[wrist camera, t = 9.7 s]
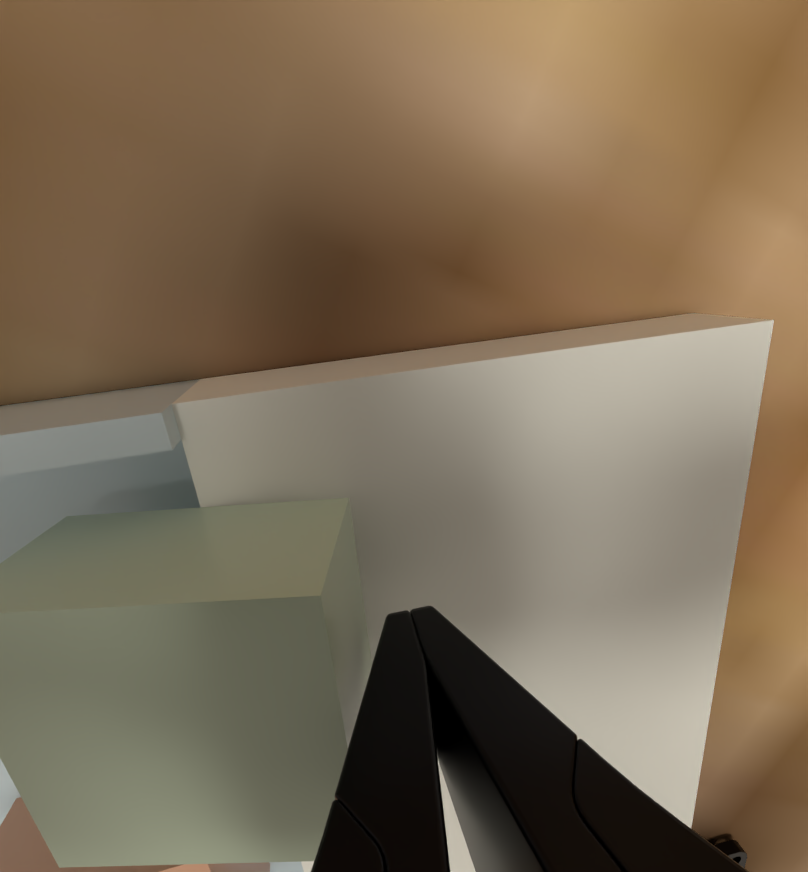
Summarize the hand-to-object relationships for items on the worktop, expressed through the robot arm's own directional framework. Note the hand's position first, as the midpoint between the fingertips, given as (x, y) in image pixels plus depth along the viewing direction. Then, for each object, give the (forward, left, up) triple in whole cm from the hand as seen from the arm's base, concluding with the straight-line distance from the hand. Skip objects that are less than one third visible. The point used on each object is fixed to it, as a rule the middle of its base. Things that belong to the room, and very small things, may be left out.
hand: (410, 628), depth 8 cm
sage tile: (0, +3, -1) cm, 3 cm away
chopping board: (-4, -2, -3) cm, 5 cm away
